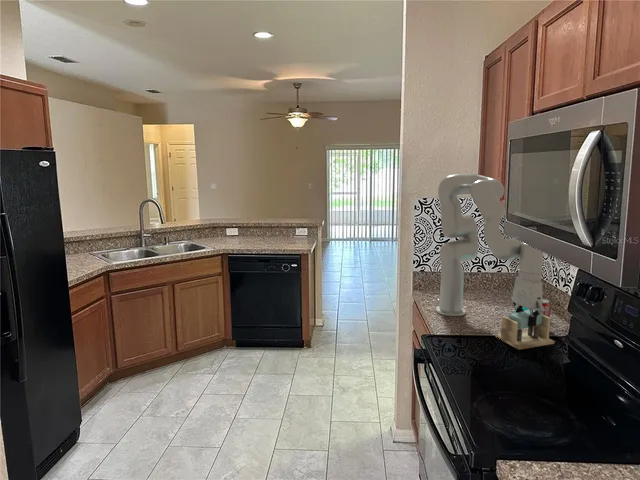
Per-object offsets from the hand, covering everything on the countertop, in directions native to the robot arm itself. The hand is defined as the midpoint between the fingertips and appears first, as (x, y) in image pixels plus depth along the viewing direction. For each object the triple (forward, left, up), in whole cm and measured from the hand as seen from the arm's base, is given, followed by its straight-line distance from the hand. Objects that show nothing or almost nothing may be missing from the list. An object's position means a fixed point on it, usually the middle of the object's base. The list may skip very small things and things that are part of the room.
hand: (525, 322), depth 162 cm
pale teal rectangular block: (0, 0, -1) cm, 1 cm away
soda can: (-7, +13, -7) cm, 16 cm away
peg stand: (0, 0, -7) cm, 7 cm away
